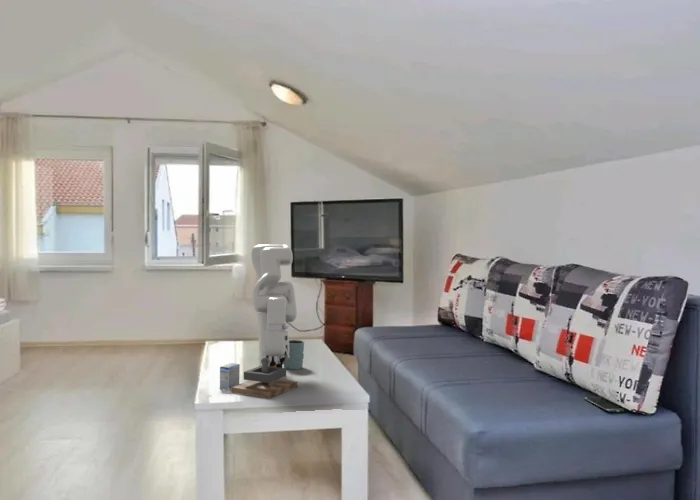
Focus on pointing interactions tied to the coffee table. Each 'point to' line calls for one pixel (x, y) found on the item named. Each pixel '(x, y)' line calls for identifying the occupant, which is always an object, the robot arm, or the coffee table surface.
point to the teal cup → (295, 355)
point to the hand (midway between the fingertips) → (276, 372)
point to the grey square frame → (265, 374)
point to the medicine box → (229, 375)
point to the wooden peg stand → (264, 385)
